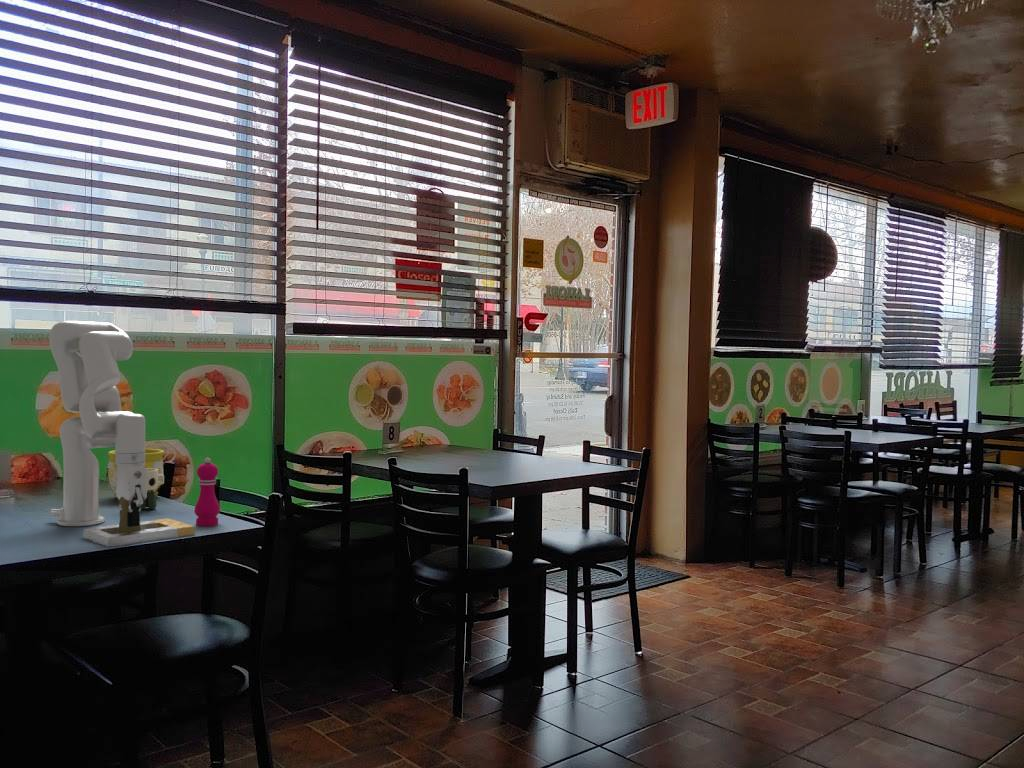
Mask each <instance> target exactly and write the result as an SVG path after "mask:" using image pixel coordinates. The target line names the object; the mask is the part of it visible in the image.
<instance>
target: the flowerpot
mask: <svg viewBox="0 0 1024 768" xmlns="http://www.w3.org/2000/svg"><path fill="white" fill-rule="evenodd" d="M164 454H165V451H164V450H163V449H157V448H145V464H144V465H145V468H153V469H158V474H163V475H164V464H163V463H164V462H163V460H164V458H163V455H164ZM107 455H108V456H109V460H108V461H109V463H108V464H109V465H108V476H107V477H108V481H109V485H110V487H111V488H112V490H113V491H114V492H115V493H114V494H113V496H114V497H116V499H117V498H118V497H117V496H116V471H117V465H116V464H115V449H114V450H113V449H112V450H110V451H108V453H107ZM158 482H161V477H158ZM161 486H162V484H160V485H158V486H157V488H156V489H153V491H154V493H155V497H156V496H157V495H158V494H159V492H158V489H160V487H161Z"/></svg>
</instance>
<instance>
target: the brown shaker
mask: <svg viewBox="0 0 1024 768" xmlns="http://www.w3.org/2000/svg"><path fill="white" fill-rule="evenodd" d="M132 500H136V498H133V499H132ZM134 503H136V502H134ZM134 503H132V506H133V504H134ZM128 504H129V503H128V501H127V500H125V499H124V498H123V497H121V498H120V502H119V506H120V505H121V507H122V509H121V515H120V514H119V521H118V522H119V524H118V525H119V529H118V534H120V533H128V532H135V531H141V527H140V525H139V526H133V527H128V526H127V512H129V506H128Z"/></svg>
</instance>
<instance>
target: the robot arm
mask: <svg viewBox="0 0 1024 768" xmlns="http://www.w3.org/2000/svg"><path fill="white" fill-rule="evenodd" d="M49 347H50V351H51V354H52V356H53V359H54V361H55V365H56V366H57V371H58V380H59V388H60V397H61V403H62V406H63V408H64V410H65V411H66V412H69V413H75V414H79V416H74V417H70V418H68V419H65V420H64V421H63V422H62V423H61V425H60V427H59V437H60V442H61V448H62V456H63V457H62V459H63V460H62V461H63V463H62V464H63V466H62V467H63V470H62V471H63V483H62V484H63V487H62V488H63V492H62V493H63V503H62V504H63V507H61V508H51V509H50V512H49V513H50V516H51V517H59V518H58V519H57V525H58V526H63V527H85V526H86V527H87V526H93V525H94V526H95V525H99V524H102V523H104V522H105V517H104V516H102V515H100V464H99V459H98V458H97V457H96V455H95V454H94V453H93V452H92V450H91V449H97V448H101V449H102V448H110V447H111V448H112V447H115V449H114V450H115V464H116V465H117V471H116V492H115V493H116V496H117V497H118V499H117V500H118V502H119V503H120V498H121V497H123V498H124V499H125V500H127V501H128V503H129V504H128V506H129V512H127V526H128V527H133V526H139V525H140V522H141V511H142V510H141V508H140V507H141V505H142V504H143V500H145V499H146V498H147V484H146V472H145V465H144V464H145V449H146V417H145V416H144V415H143V414H141V413H134V412H132V411H123V410H122V403H121V396H120V395H121V394H120V391H119V390H118V387H117V386H116V385H118V384H119V383H120V382H121V379H122V377H121V373H120V368H119V366H118V362H117V361H127V360H129V359H130V358H131V357H132V355H133V352H134V349H133V348H134V346H133V341H132V339H131V337H130V336H129V334H127V333H126V332H125V331H124V330H122V329H121V328H119V327H117V326H116V325H115V324H113V323H110V322H103V321H101V322H100V321H87V320H86V321H83V320H65V321H60V322H57V323H55V324H54V325H53V326H52V327H51V329H50V332H49ZM77 350H79V352H78V351H77ZM116 496H115V497H116ZM133 498H136V500H132V499H133ZM134 502H136V503H134ZM132 503H134V504H133V506H132ZM121 509H122V507H121V505H120V504H119V516H120V515H121Z"/></svg>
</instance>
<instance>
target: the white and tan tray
mask: <svg viewBox="0 0 1024 768" xmlns="http://www.w3.org/2000/svg"><path fill="white" fill-rule="evenodd" d="M140 527H141V531H135V532H128V533H120V534H118V529H119V524H111V525H106V526H105V525H103V526H96V527H89V528H88V527H87V528H83V534H82V535H83V537H84V538H83V539H86V538H87V539H86V540H88V539H89V540H88V541H91V540H92V542H94V543H96V542H97V543H96V544H99V543H100V544H99V545H101V544H102V546H104V545H105V546H104V547H107V546H108V547H107V548H110V547H109V546H111V547H116V546H117V545H118V546H124V545H125V546H126V545H130V544H131V545H132V544H137V543H138V544H139V543H145V542H152V541H158V540H168V539H175V538H181V537H187V536H195V533H196V532H195V531H196V530H195V528H196V527H195V525H192V524H189V523H185V522H181V521H179V520H175V519H172V518H160V519H159V518H158V519H153V520H145V521H144V520H143V521H140Z"/></svg>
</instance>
